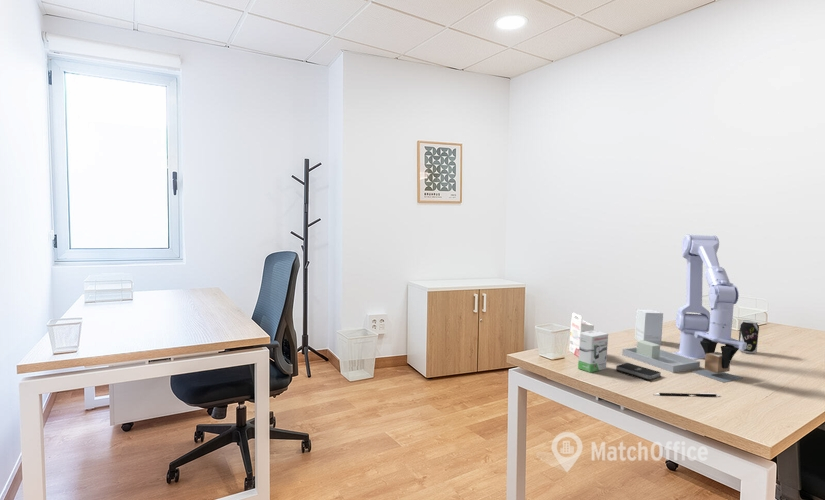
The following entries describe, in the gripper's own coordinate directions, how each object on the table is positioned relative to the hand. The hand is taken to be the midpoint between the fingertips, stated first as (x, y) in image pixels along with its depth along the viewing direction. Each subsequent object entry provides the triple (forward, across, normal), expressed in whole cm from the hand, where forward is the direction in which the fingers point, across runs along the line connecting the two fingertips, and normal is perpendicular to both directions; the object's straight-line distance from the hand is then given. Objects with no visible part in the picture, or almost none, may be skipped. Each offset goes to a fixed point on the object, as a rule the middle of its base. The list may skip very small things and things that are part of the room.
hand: (717, 365), depth 139 cm
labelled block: (+1, 0, 0) cm, 1 cm away
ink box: (+4, -19, -33) cm, 38 cm away
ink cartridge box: (+4, -32, -25) cm, 41 cm away
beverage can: (+4, -13, +40) cm, 42 cm away
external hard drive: (+4, -10, -23) cm, 25 cm away
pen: (+4, +7, -25) cm, 26 cm away
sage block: (+3, -20, -5) cm, 21 cm away
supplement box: (+4, -36, +15) cm, 39 cm away
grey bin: (+3, -16, -5) cm, 17 cm away
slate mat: (+3, 0, 0) cm, 3 cm away
